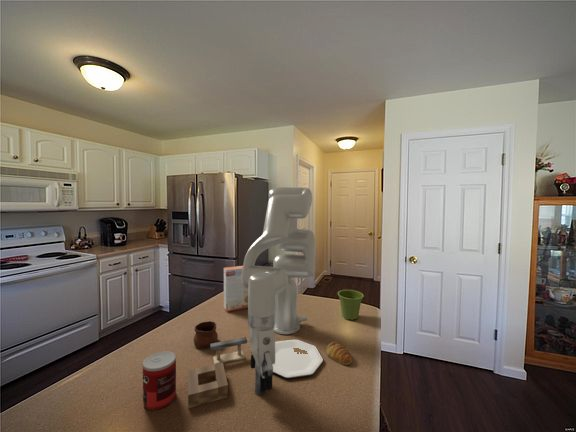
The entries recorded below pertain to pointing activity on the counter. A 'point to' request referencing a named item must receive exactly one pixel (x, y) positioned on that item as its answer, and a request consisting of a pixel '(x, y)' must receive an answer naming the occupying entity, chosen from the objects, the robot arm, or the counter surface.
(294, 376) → the plate
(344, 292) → the plant pot
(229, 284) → the cracker box
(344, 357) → the pastry
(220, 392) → the block with square hole
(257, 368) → the pin
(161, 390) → the canned food
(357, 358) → the counter surface
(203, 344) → the ceramic pot
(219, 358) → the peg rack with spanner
